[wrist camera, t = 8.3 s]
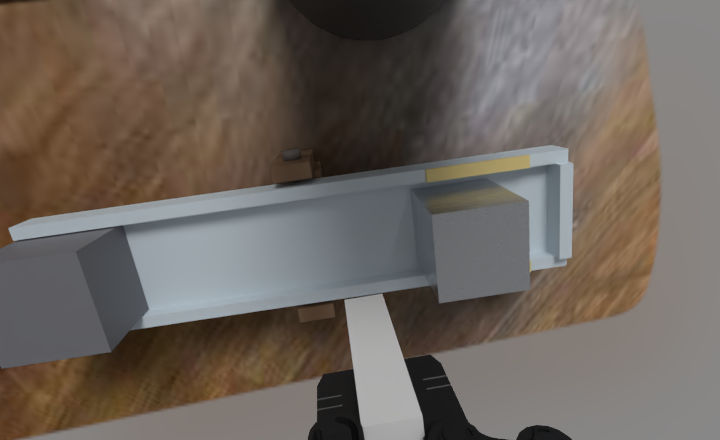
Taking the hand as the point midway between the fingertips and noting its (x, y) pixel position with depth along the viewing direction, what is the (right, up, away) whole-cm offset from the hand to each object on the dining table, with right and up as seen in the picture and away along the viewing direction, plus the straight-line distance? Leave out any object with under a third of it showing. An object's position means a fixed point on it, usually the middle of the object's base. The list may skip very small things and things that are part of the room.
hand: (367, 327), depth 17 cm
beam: (-4, +3, +12) cm, 13 cm away
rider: (+6, +4, +11) cm, 13 cm away
